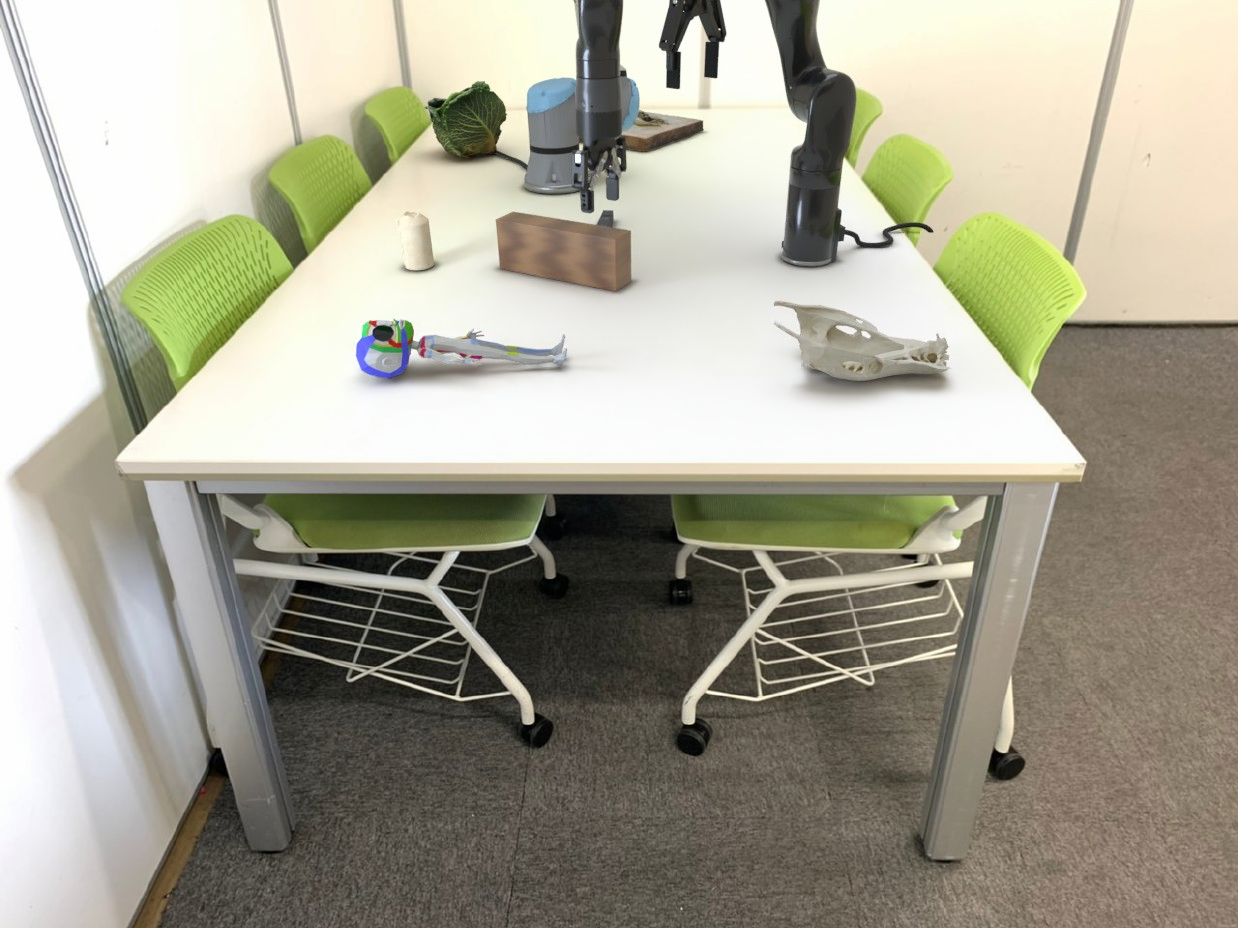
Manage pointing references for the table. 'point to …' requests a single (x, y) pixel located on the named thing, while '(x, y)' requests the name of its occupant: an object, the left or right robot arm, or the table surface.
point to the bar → (565, 250)
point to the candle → (416, 241)
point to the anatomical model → (860, 346)
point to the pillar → (606, 218)
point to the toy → (435, 349)
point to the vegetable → (468, 120)
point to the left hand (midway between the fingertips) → (692, 83)
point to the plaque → (659, 130)
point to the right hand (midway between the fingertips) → (600, 206)
